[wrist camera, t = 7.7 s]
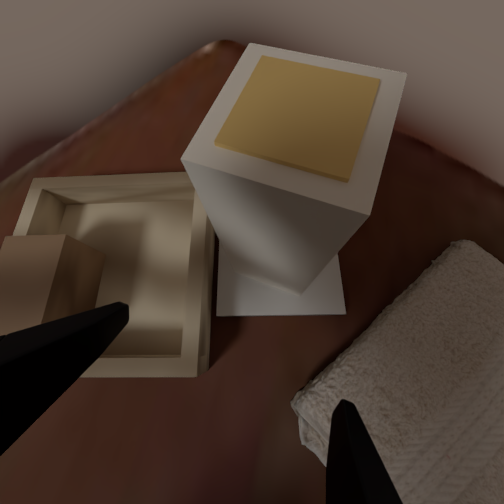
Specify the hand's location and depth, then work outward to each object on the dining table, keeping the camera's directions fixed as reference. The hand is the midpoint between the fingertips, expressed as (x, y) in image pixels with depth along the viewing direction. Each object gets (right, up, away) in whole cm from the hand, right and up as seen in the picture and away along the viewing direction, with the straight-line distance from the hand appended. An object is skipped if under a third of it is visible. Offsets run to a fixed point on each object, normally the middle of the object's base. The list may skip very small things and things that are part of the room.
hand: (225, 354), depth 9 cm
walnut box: (-12, 0, +8) cm, 15 cm away
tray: (-9, +2, +10) cm, 13 cm away
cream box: (+3, +4, +9) cm, 10 cm away
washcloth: (+13, -5, +6) cm, 16 cm away
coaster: (+3, +4, +9) cm, 10 cm away
